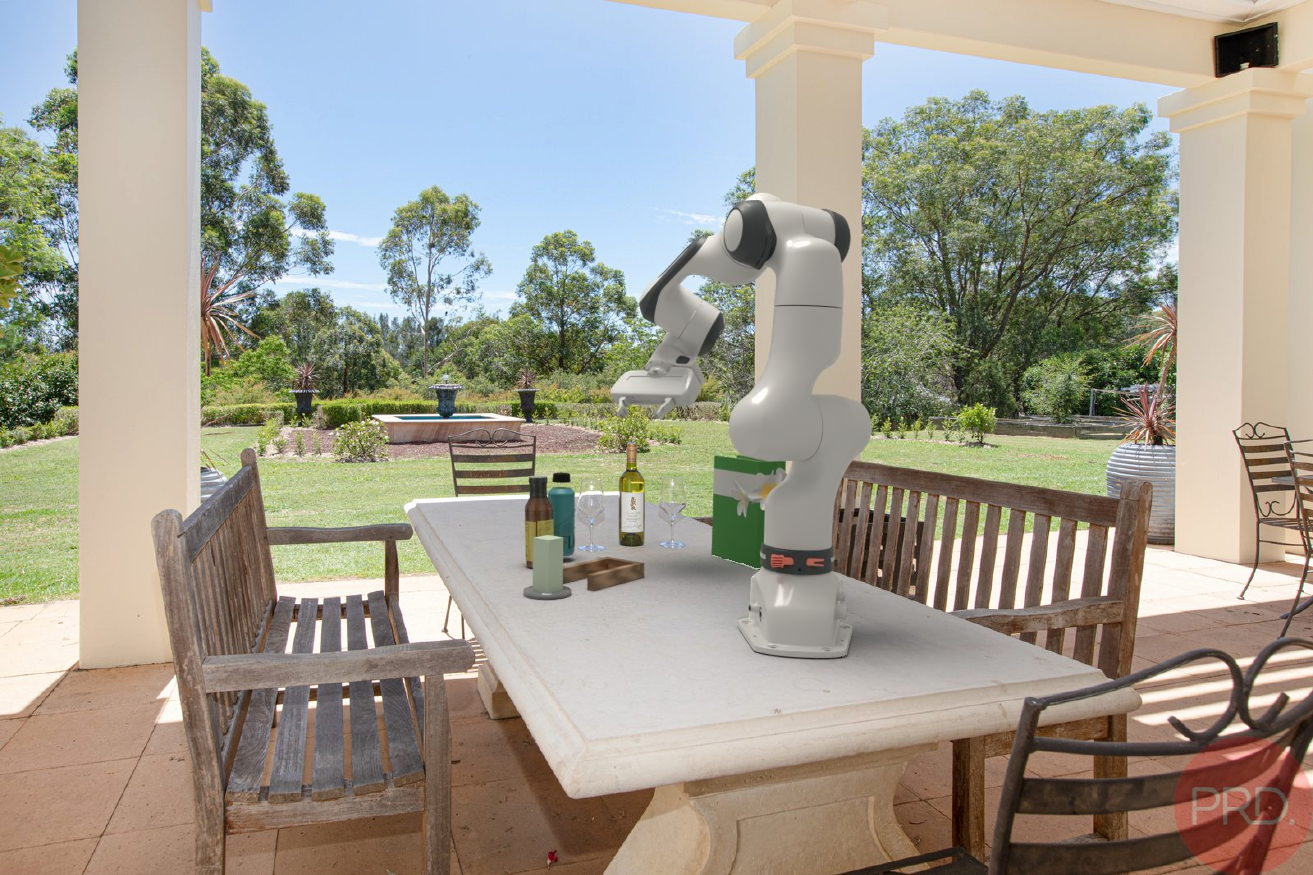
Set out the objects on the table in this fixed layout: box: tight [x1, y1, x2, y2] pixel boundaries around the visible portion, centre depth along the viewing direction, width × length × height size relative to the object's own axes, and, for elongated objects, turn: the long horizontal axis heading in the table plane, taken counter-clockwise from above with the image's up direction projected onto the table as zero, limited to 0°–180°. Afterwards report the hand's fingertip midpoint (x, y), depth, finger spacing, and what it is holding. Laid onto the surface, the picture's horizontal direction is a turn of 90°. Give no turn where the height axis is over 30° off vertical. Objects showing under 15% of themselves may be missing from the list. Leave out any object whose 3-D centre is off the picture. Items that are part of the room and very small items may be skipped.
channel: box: [563, 556, 645, 592], centre depth 174 cm, size 16×10×3 cm, turn 144°
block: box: [532, 535, 564, 593], centre depth 161 cm, size 4×4×10 cm
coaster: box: [522, 585, 572, 601], centre depth 161 cm, size 9×9×1 cm
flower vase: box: [731, 468, 788, 518], centre depth 159 cm, size 13×18×25 cm
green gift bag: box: [711, 454, 787, 568], centre depth 197 cm, size 18×7×24 cm, turn 30°
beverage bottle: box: [547, 471, 576, 557], centre depth 193 cm, size 6×7×20 cm
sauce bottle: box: [524, 475, 554, 569], centre depth 185 cm, size 6×6×20 cm
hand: (638, 415), depth 175 cm, fingers open, 8 cm apart
